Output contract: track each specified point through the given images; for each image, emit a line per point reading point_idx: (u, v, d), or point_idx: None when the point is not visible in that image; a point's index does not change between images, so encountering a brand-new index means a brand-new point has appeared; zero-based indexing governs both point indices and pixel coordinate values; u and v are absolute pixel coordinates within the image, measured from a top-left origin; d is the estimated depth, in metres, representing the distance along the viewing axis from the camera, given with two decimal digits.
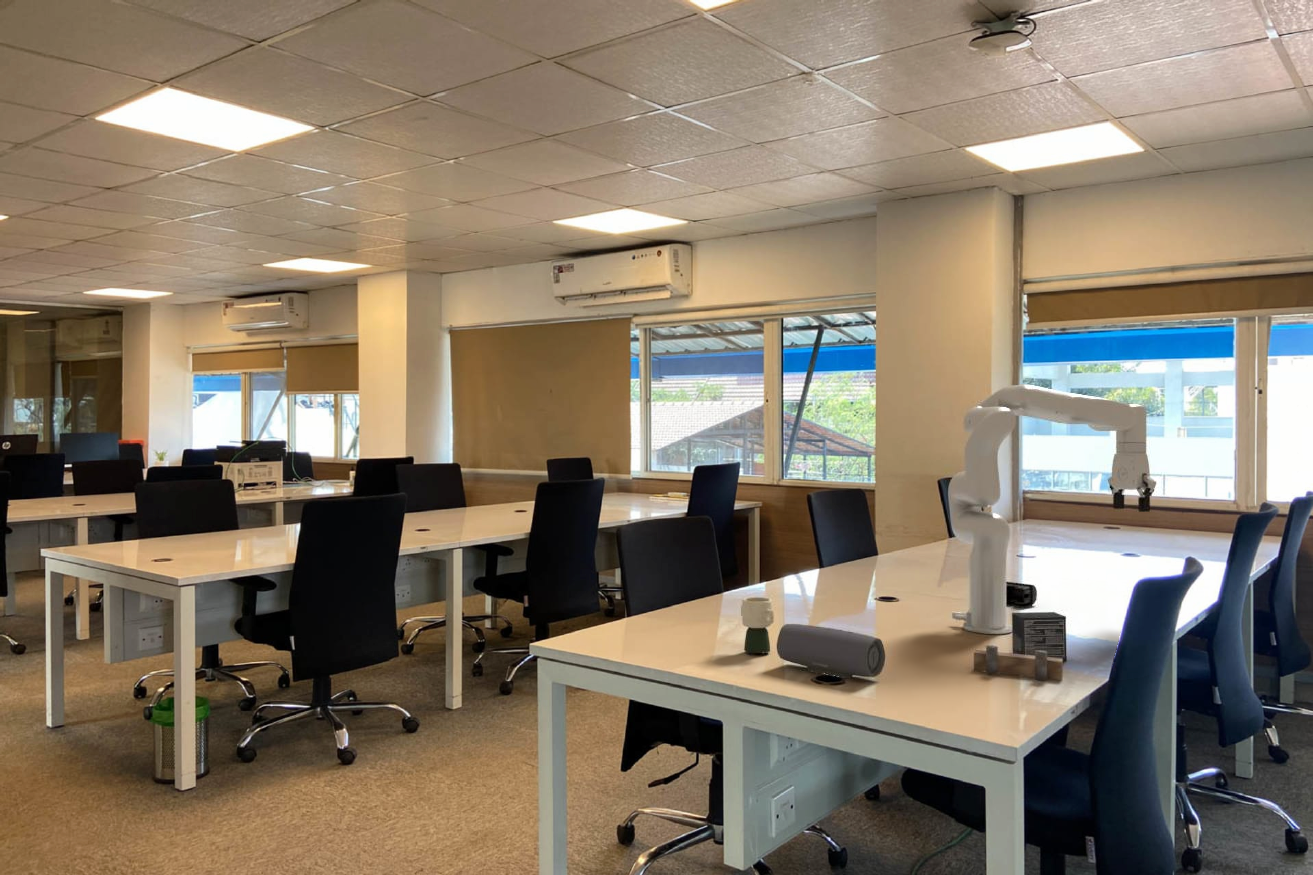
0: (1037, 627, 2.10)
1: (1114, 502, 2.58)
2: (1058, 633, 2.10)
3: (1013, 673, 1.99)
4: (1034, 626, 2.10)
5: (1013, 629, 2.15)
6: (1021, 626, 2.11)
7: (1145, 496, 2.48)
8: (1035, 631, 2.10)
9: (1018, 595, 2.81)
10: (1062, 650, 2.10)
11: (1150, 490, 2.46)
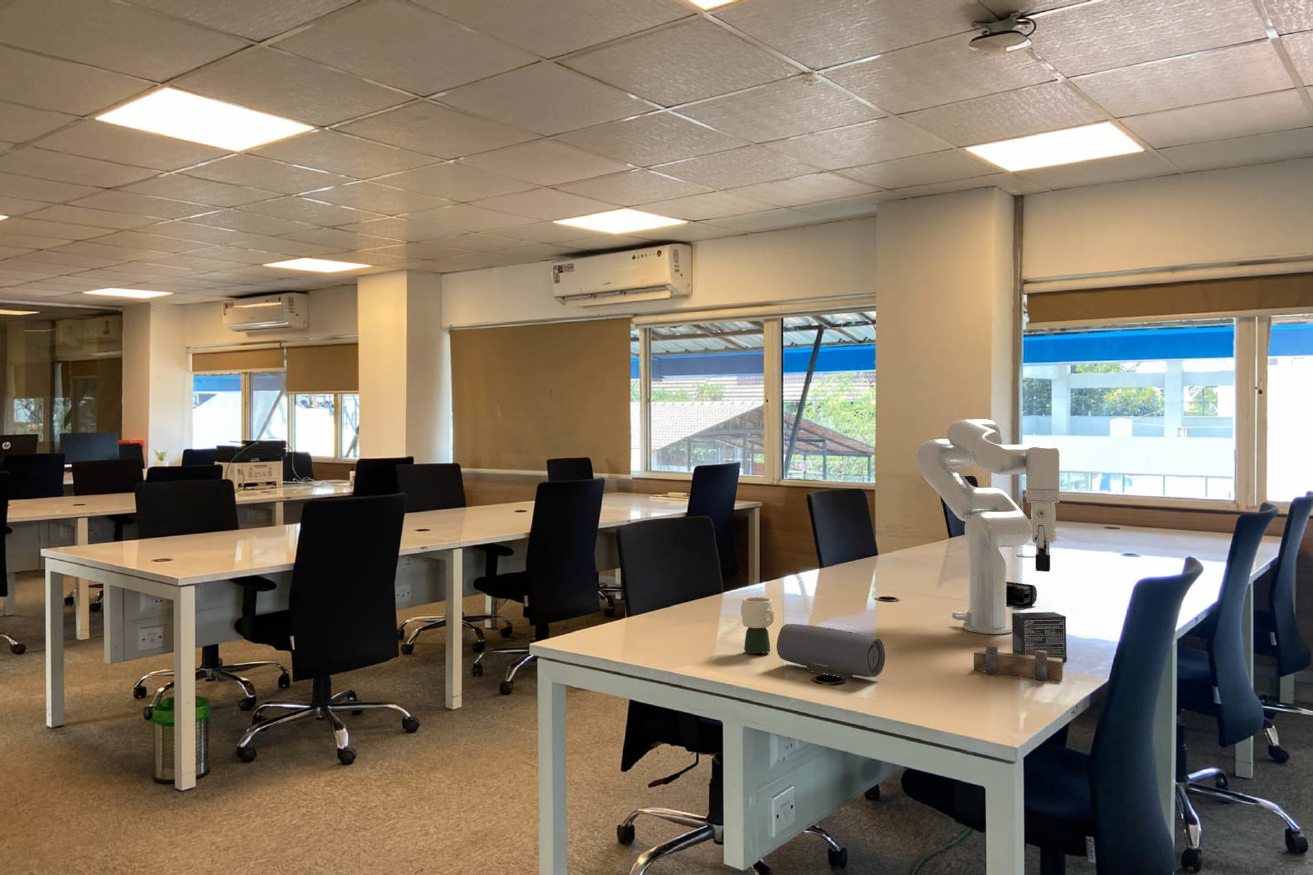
0: (1037, 627, 2.10)
1: (1049, 564, 2.22)
2: (1058, 633, 2.10)
3: (1013, 673, 1.99)
4: (1034, 626, 2.10)
5: (1013, 629, 2.15)
6: (1021, 626, 2.11)
7: None
8: (1035, 631, 2.10)
9: (1018, 595, 2.81)
10: (1062, 650, 2.10)
11: None
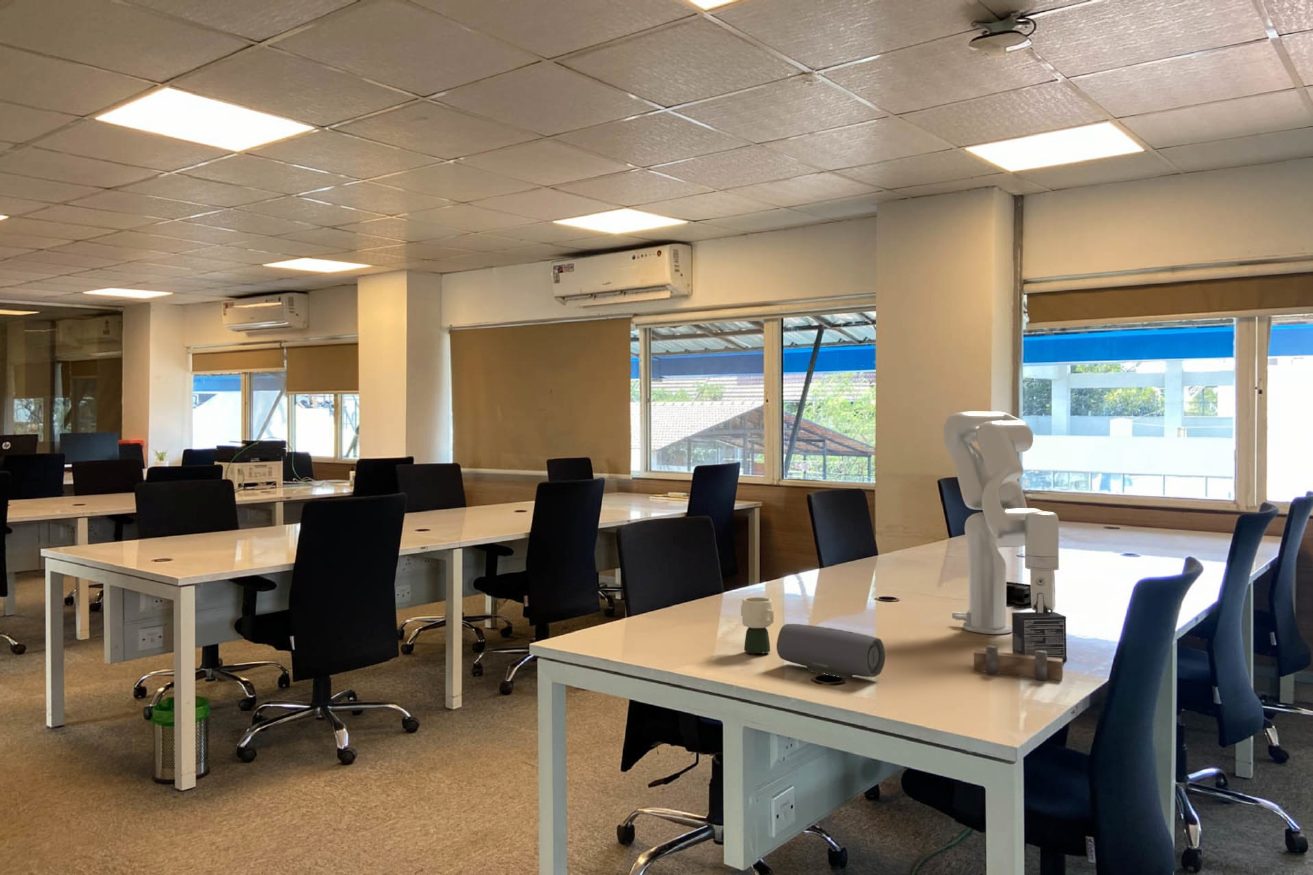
0: (1037, 627, 2.10)
1: None
2: (1058, 633, 2.10)
3: (1013, 673, 1.99)
4: (1034, 626, 2.10)
5: (1013, 629, 2.15)
6: (1021, 626, 2.11)
7: None
8: (1035, 631, 2.10)
9: (1018, 595, 2.81)
10: (1062, 650, 2.10)
11: None
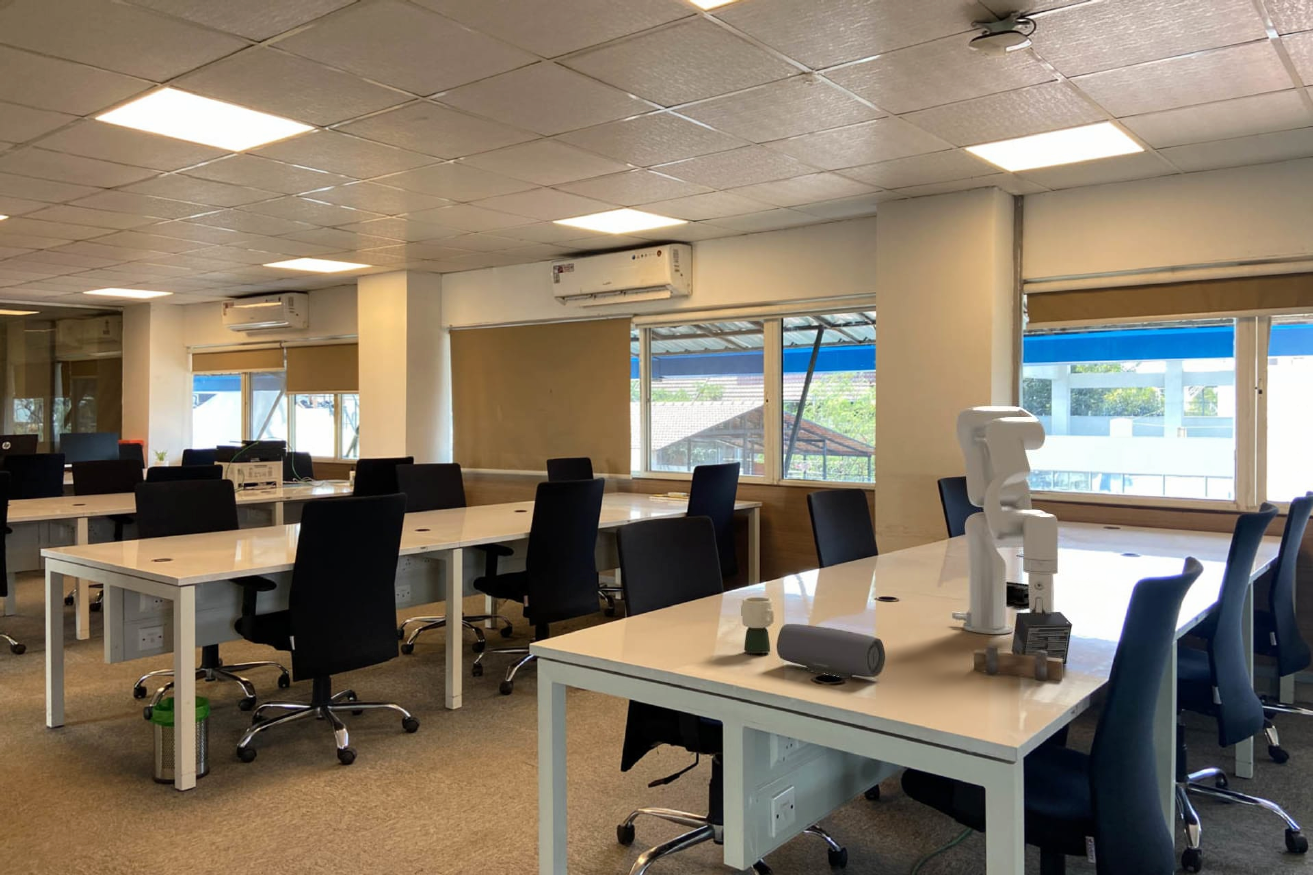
0: (1041, 634, 2.04)
1: None
2: (1061, 639, 2.05)
3: (1013, 673, 1.99)
4: (1038, 634, 2.04)
5: (1016, 629, 2.09)
6: (1025, 632, 2.05)
7: None
8: (1038, 638, 2.04)
9: (1018, 595, 2.81)
10: (1063, 654, 2.06)
11: None
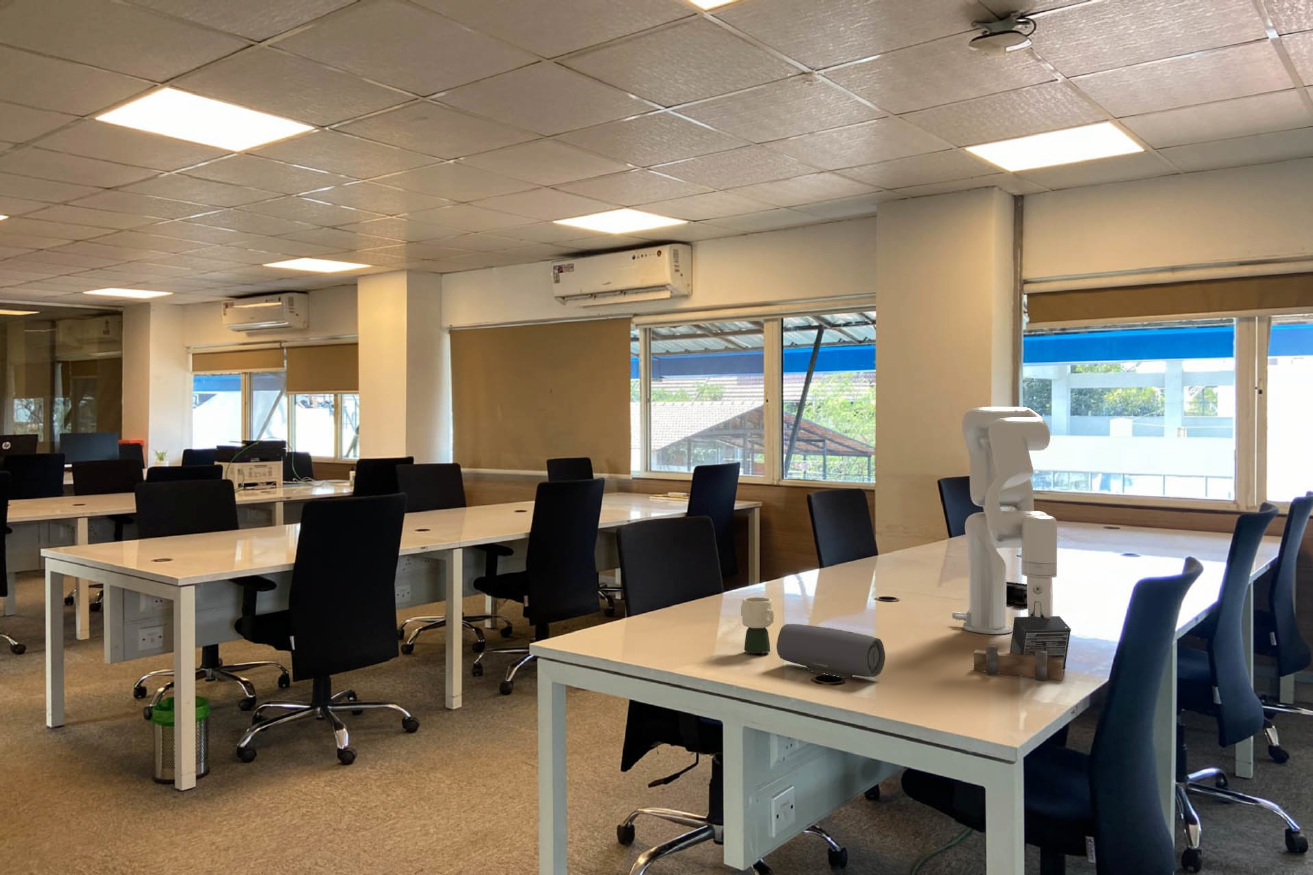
0: (1039, 639, 1.99)
1: None
2: (1060, 644, 2.00)
3: (1013, 673, 1.99)
4: (1035, 639, 1.99)
5: (1013, 633, 2.05)
6: (1022, 637, 2.00)
7: None
8: (1036, 643, 2.00)
9: (1018, 595, 2.81)
10: None
11: None
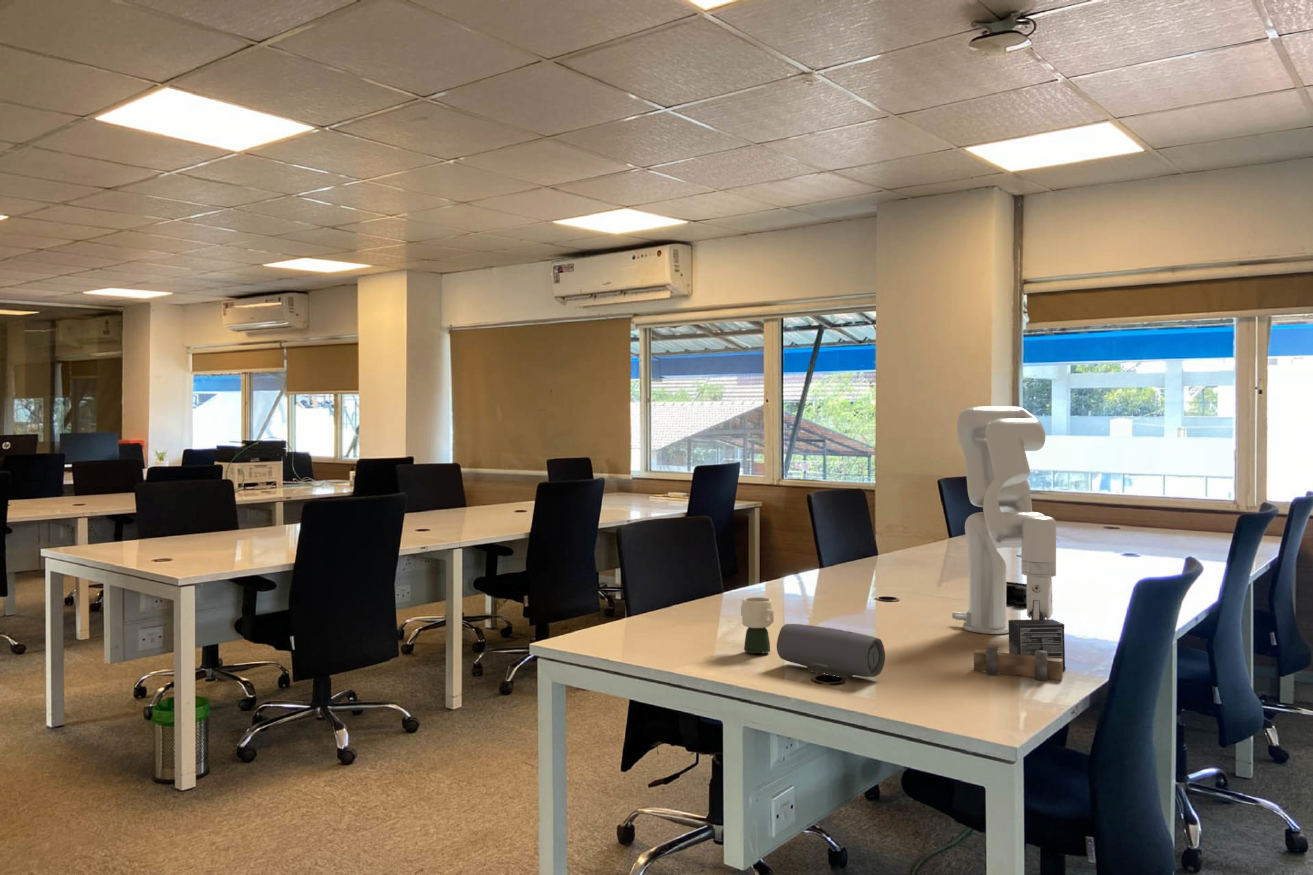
0: (1034, 635, 2.02)
1: None
2: (1056, 641, 2.02)
3: (1013, 673, 1.99)
4: (1030, 634, 2.02)
5: (1009, 637, 2.07)
6: (1017, 634, 2.03)
7: None
8: (1031, 639, 2.02)
9: (1018, 595, 2.81)
10: None
11: None
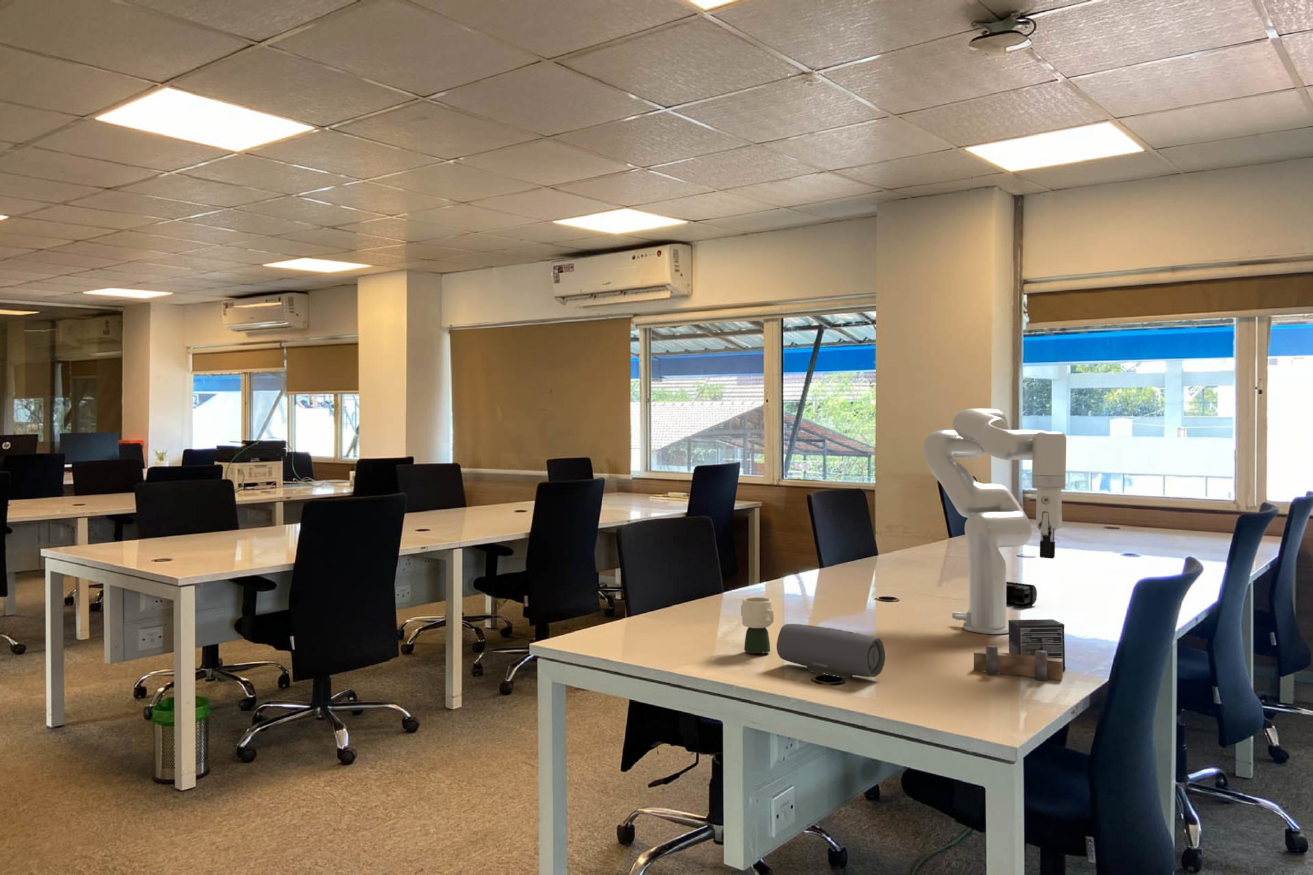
0: (1034, 635, 2.02)
1: (1054, 550, 2.20)
2: (1056, 641, 2.02)
3: (1013, 673, 1.99)
4: (1030, 634, 2.02)
5: (1009, 637, 2.07)
6: (1017, 634, 2.03)
7: None
8: (1031, 639, 2.02)
9: (1018, 595, 2.81)
10: None
11: None
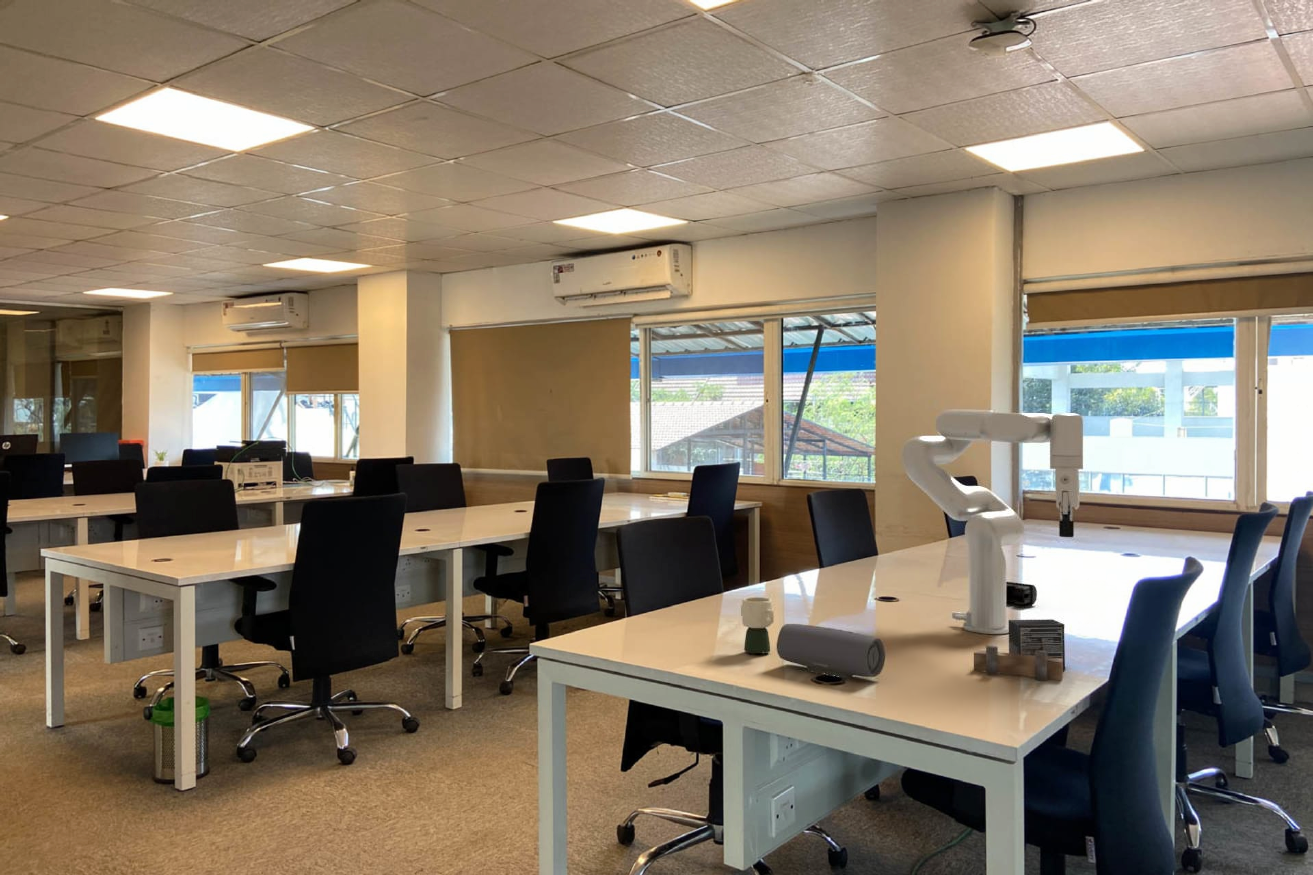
0: (1034, 635, 2.02)
1: (1073, 529, 2.25)
2: (1056, 641, 2.02)
3: (1013, 673, 1.99)
4: (1030, 634, 2.02)
5: (1009, 637, 2.07)
6: (1017, 634, 2.03)
7: None
8: (1031, 639, 2.02)
9: (1018, 595, 2.81)
10: None
11: None
